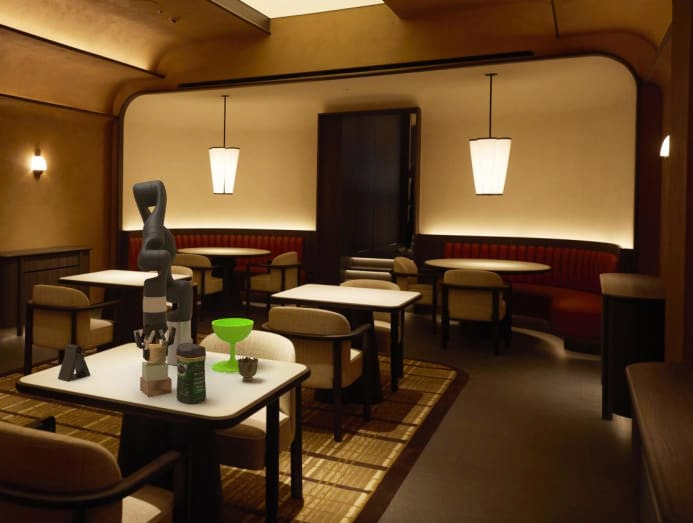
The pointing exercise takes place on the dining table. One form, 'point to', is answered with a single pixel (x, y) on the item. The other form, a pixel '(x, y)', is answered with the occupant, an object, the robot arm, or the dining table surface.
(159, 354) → the tan wooden cube
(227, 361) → the wineglass
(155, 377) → the sage top block
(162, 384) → the walnut base block
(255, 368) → the cup
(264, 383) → the dining table surface
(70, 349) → the dark grey a-frame stand
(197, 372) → the coffee jar
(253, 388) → the dining table surface
